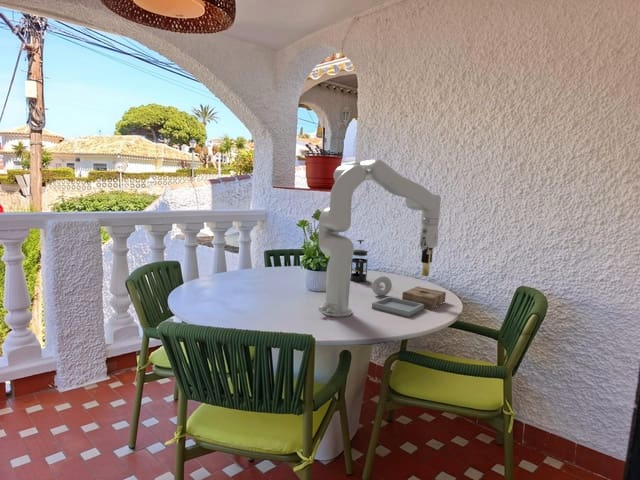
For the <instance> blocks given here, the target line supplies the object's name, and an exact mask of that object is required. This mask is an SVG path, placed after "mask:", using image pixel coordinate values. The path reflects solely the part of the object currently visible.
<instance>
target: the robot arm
mask: <svg viewBox="0 0 640 480" xmlns="http://www.w3.org/2000/svg"><path fill="white" fill-rule="evenodd" d="M332 177H333V179H334V184H333V185H332V187H331V190H330V194H329V195H330V196H329V206H328V207H326V208H324V209H323V210H322V211H321V212H320V215H319V216H318V248H319V250H320V252H321V253H323V255H326V256H328V257H329V259H328V263H327V266H326V283H325V301H324V303H323V305H322V306H319V307H318V312H319V313H321V314H323V315H325V316H328V317H334V318H335V317H336V318H344V317H348V316H350V315H352V313H353V309H352V308H350V307H349V305H350V304H349V303H350V302H349V301H350V288H351V287H350V285H351V281H350V277H351V261H352V259H353V258H354V257H353V256H354V255H353V253H354V250H355V247H354V246H355V245H354V243H353V241H352V240H351V239H350V238H349V237H347V236H346V235H341V234H340V233H345V232H348V230H349V229H350V227H351V226H352V225H351V224H352V200H353V199H352V198H353V195H354V192H355V190H356V189H357V188H358V187H359V186H360V185H361V184H363V182H366V181H373V182H375V183H376V184H377V185H379V186H380V187H381V188H383V189H384V190H385V191H387V192H388V193H390V194H391V195H394V196H397V197H401V198H405V200H404V201H405V202H404V203H405V206H406V207H407V209H409V210H413V211H422V212H421V221H420V223H421V229H420V237H419V246H420V250H421V261H420V262H421V263H422V264H423V263H428V262H429V254H428V253H429V249H431V256H430V263H432V260H433V253H434V248H436V247H438V245H439V224H440V212H441V203H442V201H441V200H442V197H441V195H440V194H434V193H432V192H431V191H429V190H428V189H427V188H426V187H424V186H422V185H421V184H419V183H417V182H415V181H413V180H411V179H409V178H406V177H405V176H403V175H401V174H400V173H398V171H396V170H395V169H393V168H392V167H391V166H390V165H389V164H387V163H386V162H385V161H382V160H381V159H378V158H377V159H366V160H361V161H357V162H353V163H349V164H348V163H347V164H343V165H339V166H338V167H337V168H336V169H335V170H334V172H333V176H332ZM426 249H427V250H426Z"/></svg>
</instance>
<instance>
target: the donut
mask: <svg viewBox="0 0 640 480" xmlns="http://www.w3.org/2000/svg"><path fill="white" fill-rule="evenodd" d="M381 283H383V284H384V287H382V288H380V287H379V285H380V284H381ZM392 287H393V284H392V281H391V279H390V278H389V276H386V275H379V276H376V277H375V278H374V279H373V281H372V282H371V290H372V292H373V293H374V294H375V295H376V296H379V297H382V296H383V297H384V296H386V295H388V294H389V293H390V292H391V291H392Z"/></svg>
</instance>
